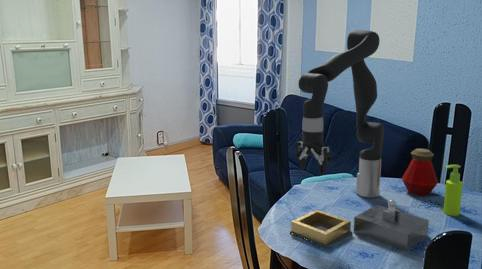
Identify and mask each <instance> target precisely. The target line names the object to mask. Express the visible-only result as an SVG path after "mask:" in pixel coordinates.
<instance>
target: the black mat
mask: <svg viewBox="0 0 482 269" xmlns="http://www.w3.org/2000/svg"><path fill="white" fill-rule="evenodd" d="M309 226H311V227H314V228H317V229H319V230H322V231H327V230H329V229H331V228H333V227H331V226H328V225H325V224H322V223H320V222H315V223H313V224H311V225H309ZM290 233H293V234H295V235H297V236H296V237H298V236H300V237H302V238H305V239H307V240H309V241H308V242H310V241H312V242H314V243H313V244H315V243H317V244H319V245H318V246H320V245H321V246H320V247H322V246H323V247H322V248H324V247H326V248H325V249H327V248H329V247H331V246H332V244H333V245H334V244H336V243H338V242H339V240H340V241H341V240H343V239H344V238H347V237H348V236H350V235H352V234H353V231H351V230H350V232H348V233H347V234H345V235H343V236H341V237H340V238H338V239H336V240H334V241H333V242H331V243H329V244H327V245H323V244H321V243H318V242H316V241H313V240H311V239H308V238H306V237H304V236H301V235H299V234H296V233H294V232H291V230H290V231H289V234H290ZM293 234H292V235H293ZM295 235H294V236H295ZM300 237H299V238H300ZM302 238H301V239H302ZM305 239H304V240H305ZM307 240H306V241H307ZM337 241H338V242H337ZM312 242H311V243H312ZM335 242H336V243H335ZM317 244H316V245H317ZM330 245H331V246H330ZM328 246H329V247H328Z"/></svg>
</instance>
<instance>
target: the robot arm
mask: <svg viewBox="0 0 482 269" xmlns="http://www.w3.org/2000/svg"><path fill="white" fill-rule="evenodd" d="M346 39H347V40H346V48H347V50H345V51H342V52H339V53H336V54H334V55H333V56H330V58H328V59H326V60H325V61H324V62H323V63H321V65H318V66H316V67H313V68H312V69H310V70H308V71H306V72H304V73H303V74H302V75H301V76H300V77H299V80H298V88H299V90H300V91H301V92H302V93H305V94H312V95H311V98H310V99H307V100H305V101H304V102H303V104H302V121H301V122H302V123H301V126H302V128H301V130H302V131H301V134H302V136H301V137H302V138H301V139H302V140H300V141H297V142H295V158H298V159H299V166H300V170H305V169H306V168H307V159H306V158H307V157H308V156H309V157H312V158H315V159H316V160H317V161H318V164H319V166H318V168H319V170H318V173H319V175H323V174H325V172H326V165H327V164H331V163H332V162H331V147H330V146H323V142H324V117H323V116H324V115H323V114H324V108H323V107H324V105H325V104H324V103H325V99H326V96H327V93H328V89H329V82H330V83H331V82H332V81H333V80H335V79H336V78H337V77H338V76H340V75H341V74H342V73H343V72H344V71H346V70H348V69H349V68H350V67H351V75H352V86H353V87H352V88H353V96H354V103H355V113H356V135H357V136H356V137H357V140H358V142H361V143H365V144H373V145H372V147H370V148H366V149H362V150H360V152H359V162H358V164H359V165H358V172H357V173H356V187H355V188H356V189H355V194H357V195H358V196H360V197H363V198H369V199H373V198H374V199H375V198H379V196H380V189H381V188H380V186H381V173H382V172H381V170H382V169H381V168H382V153H383V144H384V135H385V127H384V125H383V123H381V122H372V121H367V115H368V113H369V111H370V110H371V108H372V107H373V105H374V104H375V103H376V100H377V99H378V85H377V80H376V79H375V76H374V74H373V73H372V71H371V70H370V69H369V67H368V65H367V63H366V61H365V59H366V58H368V57H370V56H372V55H373V54H375V53H376V52H377V50H378V49H379V46H380V36H379V34H378V33H377V32H376V31H373V30H365V29H363V30H362V29H353V30H350V31H349V33H348V34H347V38H346Z"/></svg>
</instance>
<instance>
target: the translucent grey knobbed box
mask: <svg viewBox="0 0 482 269" xmlns="http://www.w3.org/2000/svg"><path fill="white" fill-rule="evenodd" d="M387 206H388V207H385V206H382V205H378V204H375V205H374V206H372V207H370V208H369V209H367V210H365V211H363V212H361V213H359V214H357V215H356V216H353V217H354V218H353V219H354V220H353V233H355V234H357V235H360V236H363V237H366V238H369V239H372V240H375V241H377V242H380V243H382V244H386V245H388V246H391V247H394V248H396V249H400V250H403V251H405V252H407V251H409V250H410V249H411V248H413V247H414V246H416V245H417V244H418V243H420V242H421V241H422V240H424V239H425V238H427V236H429V234H428V232H429V224H430V223H429V222H430V219H427V218H424V217H419V216H417V215H414V214H410V213H406V212H403V211H401V210H400V209H397V202H396V200H394V199H389V200H388V201H387Z"/></svg>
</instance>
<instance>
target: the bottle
mask: <svg viewBox="0 0 482 269" xmlns="http://www.w3.org/2000/svg"><path fill="white" fill-rule="evenodd" d="M410 155H411V158H412V159H411V161H410V163H409V165H408V167H407V168H406V170H405V172H404V173H403V176H402V177H401V181H402V182H403V184H404V187H405V189H406V190H407V192H408V193H409V194H411V195H414V196H417V197H418V196H419V197H428V196H430V195H431V193H432V191H433V190H434V189H435V187H436V186H437V185H438V183H439V180H438V177H437V174H436V171H435V168H434V165H433V162H432V159H433V157H434V155H435V154H434V153H433V152H432V151H431V150H429V149H426V148H415V149H414V150H412V151H411V152H410Z"/></svg>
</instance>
